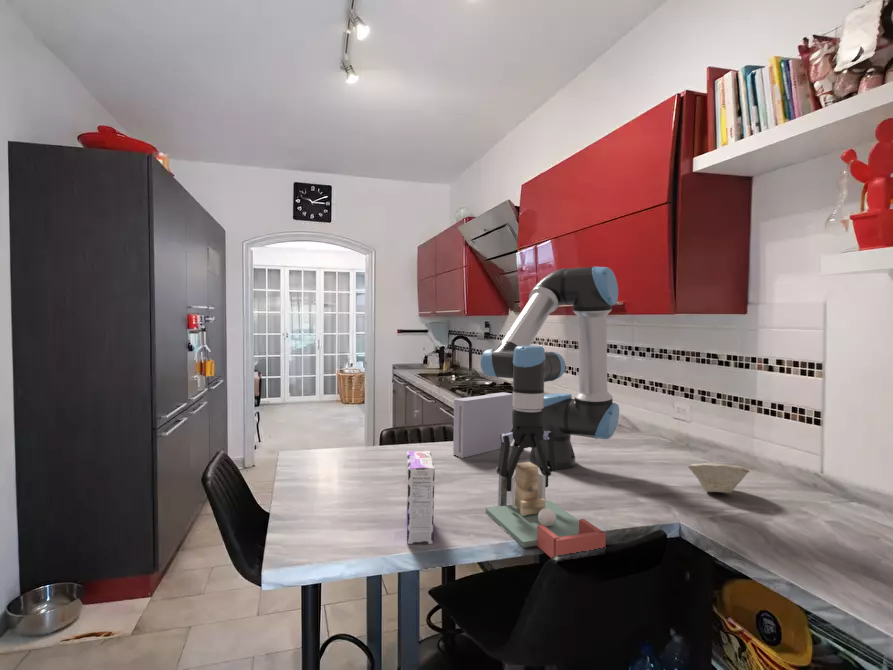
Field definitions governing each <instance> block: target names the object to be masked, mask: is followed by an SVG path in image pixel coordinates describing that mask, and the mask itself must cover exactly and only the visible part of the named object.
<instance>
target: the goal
mask: <svg viewBox="0 0 893 670" xmlns="http://www.w3.org/2000/svg"><path fill="white" fill-rule="evenodd" d="M578 520H579V534H577V535H571V536H564V537H558V536H557V535H556V534H554V533H553V532H552V531H550V530H549V529H548V528H546V527H545V526H544V525H543V524H542V525H537V546H536V547H537V548H539V549H540V550H541V551H543V552H544V553H545V554H546V556H548V557H549V558H550V559H552V557H555V556H558V555H564V554H569V553H576V552H581V551H589V550H594V549H598V548H603V547H605V548H606V545H607V544H606V543H607V542H606V540H607V539H606V537H607V533H606V532H605V531H603V530H602V529H600V528H598V527H597V526H596V525H593V523H591V522H590V521H588V520H586V519H584V518H581V519H578Z"/></svg>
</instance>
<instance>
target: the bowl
mask: <svg viewBox="0 0 893 670" xmlns="http://www.w3.org/2000/svg"><path fill="white" fill-rule="evenodd" d="M688 469H690V471H691V472H692V474H693V475H694V476H695V477H696V479H697V480H698V482H699V484H700V485H701V488H702V489H703V490H704V491H705V492H706V493H721V494H732V493H733V491H734V490H735V488H736V487H737V486H738V485H739V484H740V483H741V482H742V481H743V479H745V477H746V476H747V474H748V473H750V469H749V468H747V467H746V466H742V465H733V464H727V463H715V462H714V463H713V462H712V463H711V462H703V463H692V464H690V465H689V466H688Z"/></svg>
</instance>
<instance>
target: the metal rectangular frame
mask: <svg viewBox="0 0 893 670" xmlns="http://www.w3.org/2000/svg"><path fill="white" fill-rule="evenodd" d="M515 470H516V468H515ZM497 502H498V506H507V505H508V502H507V491H506V490H505V489H504V477H502V476H501V475H499V474H498V501H497Z"/></svg>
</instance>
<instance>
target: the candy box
mask: <svg viewBox="0 0 893 670" xmlns="http://www.w3.org/2000/svg"><path fill="white" fill-rule="evenodd" d="M435 469H436V468H435V466H434V459H433V456H432V452H431V450H417V451H416V450H414V451H413V450H410V451H409V450H408V451H407V452H406V491H407V492H406V544H407V545H433V544H434V511H435V508H434V505H435V504H434V503H435V472H436V471H435Z"/></svg>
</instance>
